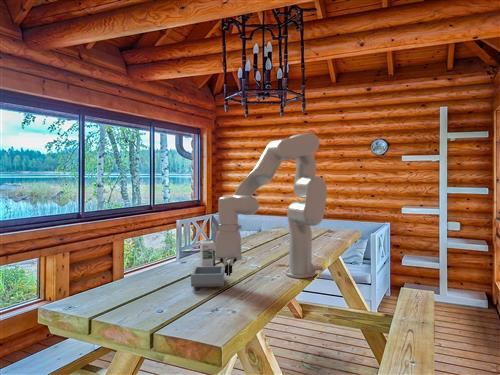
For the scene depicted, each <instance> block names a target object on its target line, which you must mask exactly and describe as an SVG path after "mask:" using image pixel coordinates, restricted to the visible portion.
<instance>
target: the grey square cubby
mask: <svg viewBox="0 0 500 375" xmlns="http://www.w3.org/2000/svg"><path fill="white" fill-rule="evenodd" d="M224 283H225V265H215V266H201V265H200V266H194V267H193V269H192V272H191V273H190V286H191V287H192V288H194V289H195V290H196V291H198V290H200V287H215V289H216V290H220V289H221V287H224Z"/></svg>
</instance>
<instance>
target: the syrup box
mask: <svg viewBox="0 0 500 375" xmlns="http://www.w3.org/2000/svg"><path fill="white" fill-rule="evenodd" d="M215 243H216V241H214V240H203V241H202V240H201V241H199V256H200V257H199V258H200V259H199V260H200V262H199V264H200V266H216V260H215Z"/></svg>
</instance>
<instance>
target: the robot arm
mask: <svg viewBox="0 0 500 375" xmlns="http://www.w3.org/2000/svg"><path fill="white" fill-rule="evenodd" d="M319 147H320V139H319V137H318V136H317V135H316V134H315V133H313V132H304V133H298V134H293V135H291V136H289V137H287V138H280V139H275V140H272V141H270V142H269V143H268V144H267V145H266V147H265V149H264V150H263V152H262V154H261V155H260V157H259V160H258V161H257V163H256V164H255V166H254V168H253V169H252V171H251V172H249V174H248V175H246V177H245V178H244V179H243V180H242V181H241V182H240V184H239V185H238V186H237V188H236V190H235V192H234V193H233V196H229V195H228V196H221V197H219V198H218V201H217V202H218V231H216V235H215V261H218V262H220V263H222V264H223V266H224V274H226V275H225V276H226V277H228V276H229V277H231V275H232V273H233V266H234V264H235V263H236V262H238V261H239V262H240V261H241V260H243V255H242V236H241V231H239V230H241V229H242V225H241V224H239V215H242V216H243V215H244V216H246V215H247V216H251V215H254V214H256V213H257V212H258V210H259V208H260V204H259V201H258V199H257V198H256V197H254V196H253V195H254V194H255V192H257V190H258V189H260V188H261V187H263V186H265V185H266V184H268V183H270V182H271V181H272V180H273V178H274V177H275V175H276V173H277V171H278V169H279V167H280V166H281V164H282V162H283V161H291V160H294V161H295V172H294V173H295V176H294V182H293V193H294V195H295V196H296V197H298V198H301V199H305V201H302V200H296V201H292V203H291V204H289V205H288V207H287V210H286V213H287V215H286V217H287V222H288V232H289V235H288V236H289V240H288V242H289V243H288V244H289V245H288V246H289V248H288V250H289V254H288V256H289V257H288V258H289V268H288V269H287V270H286V271H285V275H286V276H288V277H290V278H295V279H297V278H298V279H307V278H313V277H314V276H316V271H324V269H323V268H324V266H323V265H318V264H313V263H312V258H313V257H312V255H313V254H312V252H313V251H312V250H313V249H312V248H313V246H312V245H313V244H312V243H313V242H312V239H313V238H312V237H313V236H312V228H311V227H316V226H318V225H320V224H321V223H322V221H323V220H324V216H325V210H326V203H327V194H328V188H327V187H328V186H327V183H326V181H325V180H324V179H323V178H322V177H320V176H317V175H316V173H317V163H316V162H317V161H316V158H315V155H314V153H315V152H317V150H318V149H319ZM229 258H230V260H229V263H228V260H227V259H229Z"/></svg>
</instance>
